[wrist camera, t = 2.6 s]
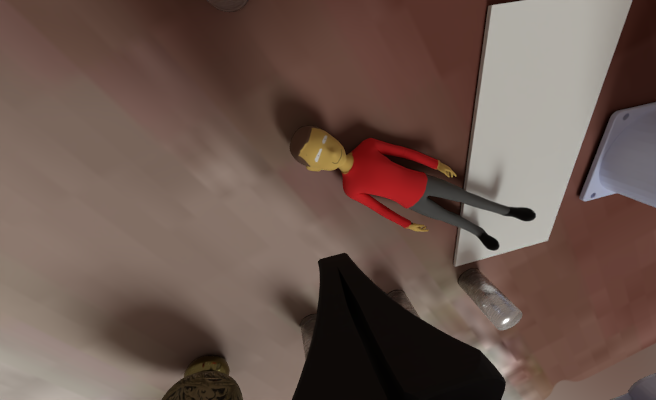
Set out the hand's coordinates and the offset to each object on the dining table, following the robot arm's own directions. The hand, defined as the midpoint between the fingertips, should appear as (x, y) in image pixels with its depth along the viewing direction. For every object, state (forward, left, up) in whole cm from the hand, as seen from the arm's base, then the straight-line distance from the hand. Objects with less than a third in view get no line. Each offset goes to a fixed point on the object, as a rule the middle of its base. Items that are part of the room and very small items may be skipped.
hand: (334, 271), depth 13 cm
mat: (-17, 0, -7) cm, 18 cm away
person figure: (-7, 0, -7) cm, 10 cm away
